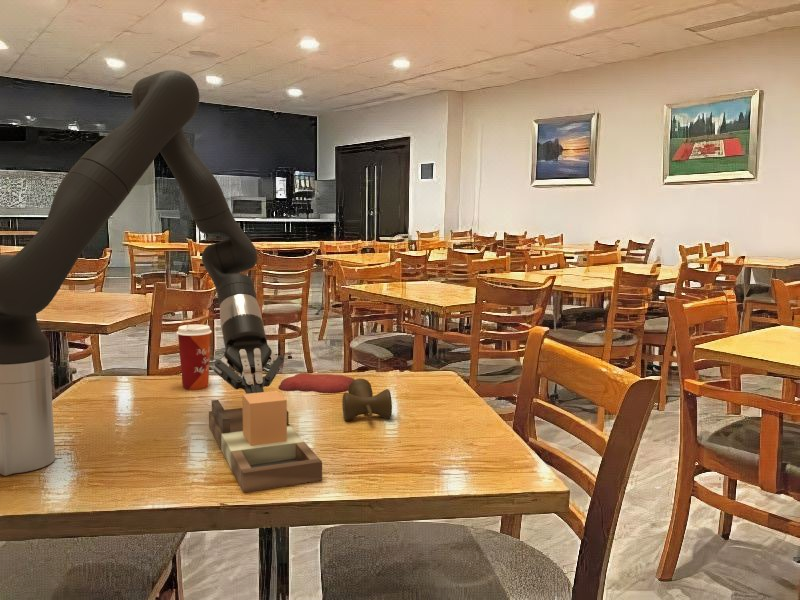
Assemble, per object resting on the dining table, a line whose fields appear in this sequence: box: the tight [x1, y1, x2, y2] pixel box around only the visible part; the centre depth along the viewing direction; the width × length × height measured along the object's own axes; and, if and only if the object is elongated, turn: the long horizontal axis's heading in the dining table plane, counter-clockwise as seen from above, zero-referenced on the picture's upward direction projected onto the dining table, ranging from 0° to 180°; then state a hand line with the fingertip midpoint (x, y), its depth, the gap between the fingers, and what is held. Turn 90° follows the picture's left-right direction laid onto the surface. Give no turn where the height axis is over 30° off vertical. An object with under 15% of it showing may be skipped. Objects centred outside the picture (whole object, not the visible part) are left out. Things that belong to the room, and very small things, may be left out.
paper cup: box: [176, 323, 213, 391], centre depth 155 cm, size 8×8×14 cm
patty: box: [278, 372, 355, 394], centre depth 159 cm, size 18×14×2 cm
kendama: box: [341, 378, 393, 422], centre depth 138 cm, size 6×10×20 cm
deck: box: [208, 399, 323, 493], centre depth 115 cm, size 32×12×6 cm, turn 24°
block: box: [241, 390, 288, 446], centre depth 113 cm, size 6×6×7 cm
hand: (257, 406), depth 116 cm, fingers closed
